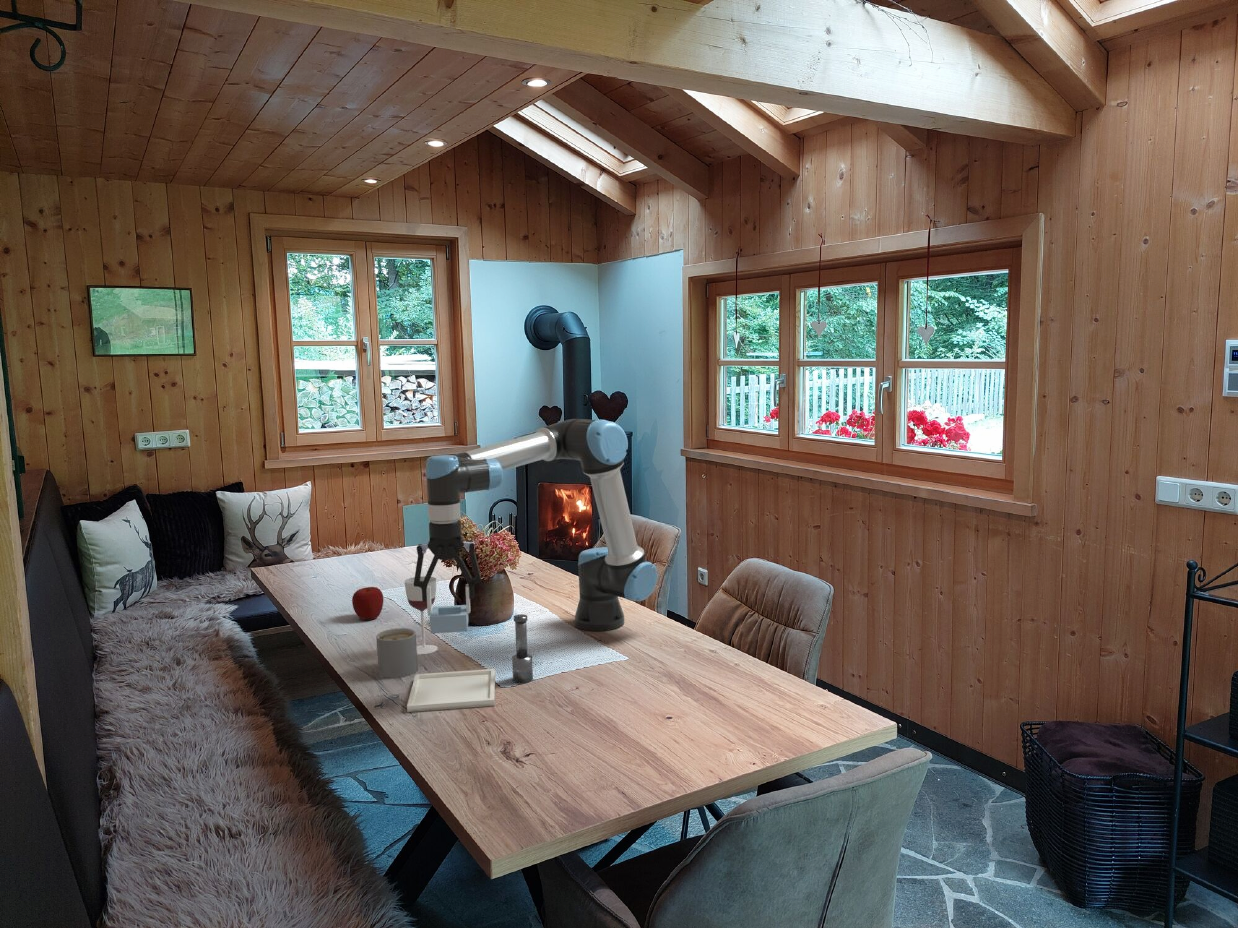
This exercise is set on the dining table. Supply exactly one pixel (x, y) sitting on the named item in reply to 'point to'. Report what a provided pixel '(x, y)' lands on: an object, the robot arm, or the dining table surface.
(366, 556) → the dining table surface
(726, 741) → the dining table surface
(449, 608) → the ring
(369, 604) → the apple
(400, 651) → the coffee mug
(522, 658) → the pestle
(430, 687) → the tray
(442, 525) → the robot arm
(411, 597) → the wineglass
